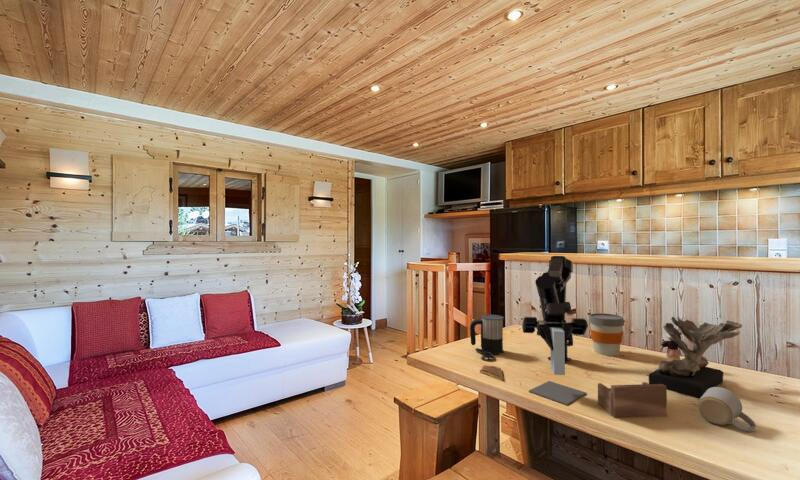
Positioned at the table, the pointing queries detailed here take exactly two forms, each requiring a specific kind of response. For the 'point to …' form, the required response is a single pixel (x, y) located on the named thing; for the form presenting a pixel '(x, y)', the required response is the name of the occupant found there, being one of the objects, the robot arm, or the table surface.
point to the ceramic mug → (723, 408)
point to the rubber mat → (557, 392)
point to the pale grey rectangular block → (558, 351)
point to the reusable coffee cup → (606, 333)
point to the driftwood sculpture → (692, 358)
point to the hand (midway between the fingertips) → (558, 350)
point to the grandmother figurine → (671, 349)
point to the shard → (492, 372)
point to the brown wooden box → (634, 400)
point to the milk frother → (489, 335)
